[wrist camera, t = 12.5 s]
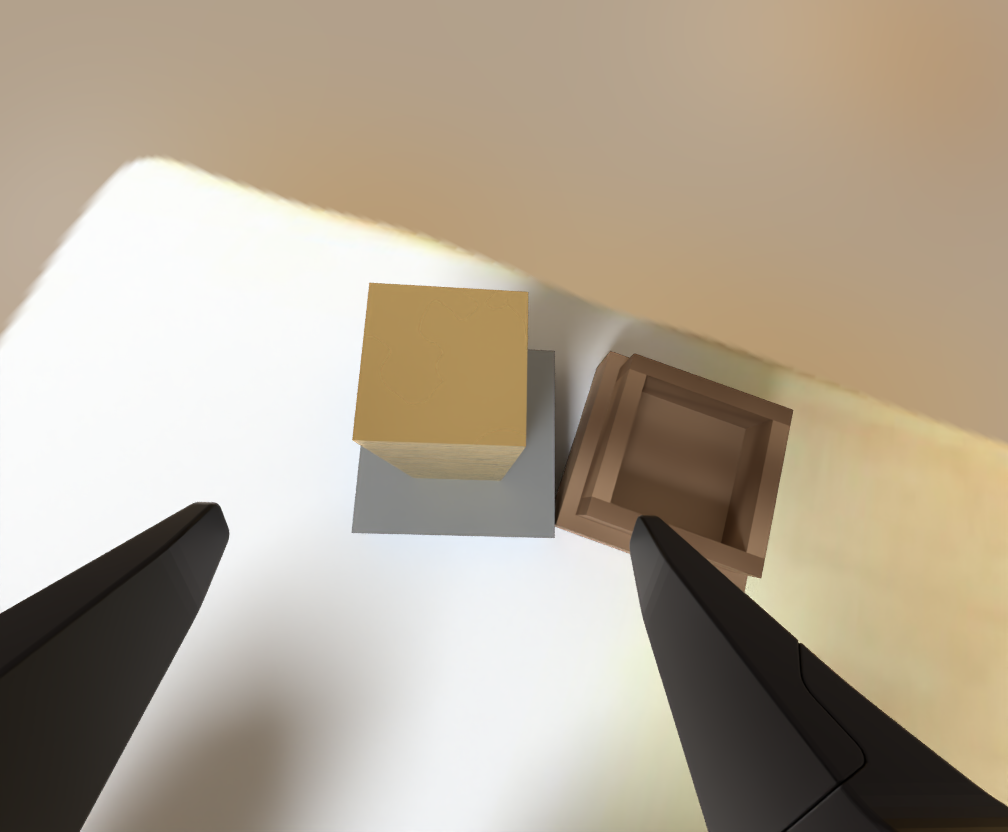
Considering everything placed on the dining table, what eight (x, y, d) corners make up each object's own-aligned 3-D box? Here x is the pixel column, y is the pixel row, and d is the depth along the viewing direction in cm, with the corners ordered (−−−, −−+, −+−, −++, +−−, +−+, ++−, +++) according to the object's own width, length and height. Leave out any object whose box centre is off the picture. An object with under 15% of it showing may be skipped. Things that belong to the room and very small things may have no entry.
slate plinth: (545, 535, 22) (554, 537, 19) (365, 530, 21) (351, 532, 19) (546, 367, 24) (554, 350, 21) (382, 359, 23) (371, 341, 21)
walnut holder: (714, 584, 22) (774, 601, 17) (547, 523, 22) (565, 525, 18) (749, 422, 24) (810, 401, 20) (596, 367, 24) (623, 334, 20)
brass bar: (500, 480, 20) (525, 446, 10) (413, 478, 20) (352, 440, 10) (503, 397, 21) (528, 292, 11) (419, 393, 20) (369, 282, 11)
